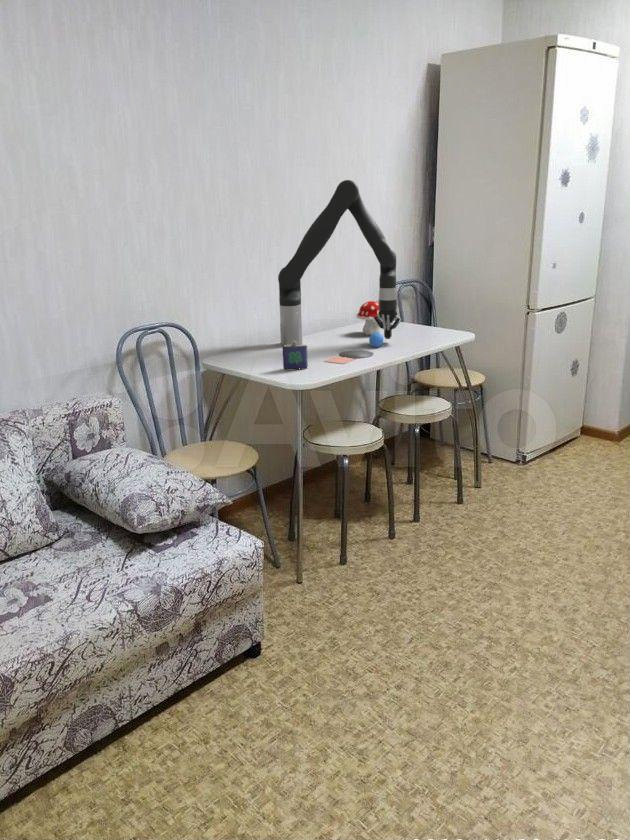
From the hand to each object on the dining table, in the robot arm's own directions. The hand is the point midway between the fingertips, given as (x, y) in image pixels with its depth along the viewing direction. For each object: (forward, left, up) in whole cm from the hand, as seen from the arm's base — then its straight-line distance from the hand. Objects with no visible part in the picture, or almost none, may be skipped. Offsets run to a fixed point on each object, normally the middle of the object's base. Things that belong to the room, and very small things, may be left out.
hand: (387, 338), depth 307 cm
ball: (-6, -8, +1) cm, 10 cm away
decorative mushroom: (-6, +20, -2) cm, 21 cm away
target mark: (-15, -21, -2) cm, 26 cm away
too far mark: (-22, -31, -2) cm, 38 cm away
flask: (-39, -42, -2) cm, 57 cm away
